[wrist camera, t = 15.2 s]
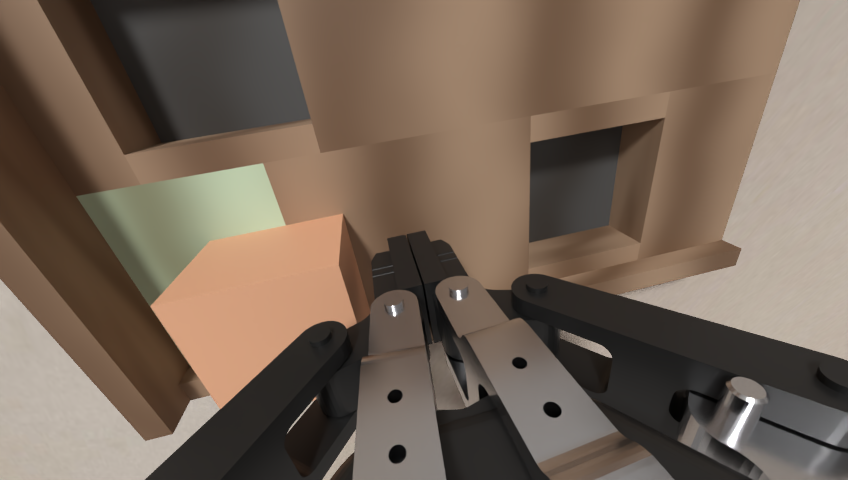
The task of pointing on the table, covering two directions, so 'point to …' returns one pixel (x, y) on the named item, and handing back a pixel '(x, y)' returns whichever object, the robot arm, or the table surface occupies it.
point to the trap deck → (362, 147)
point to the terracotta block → (260, 299)
